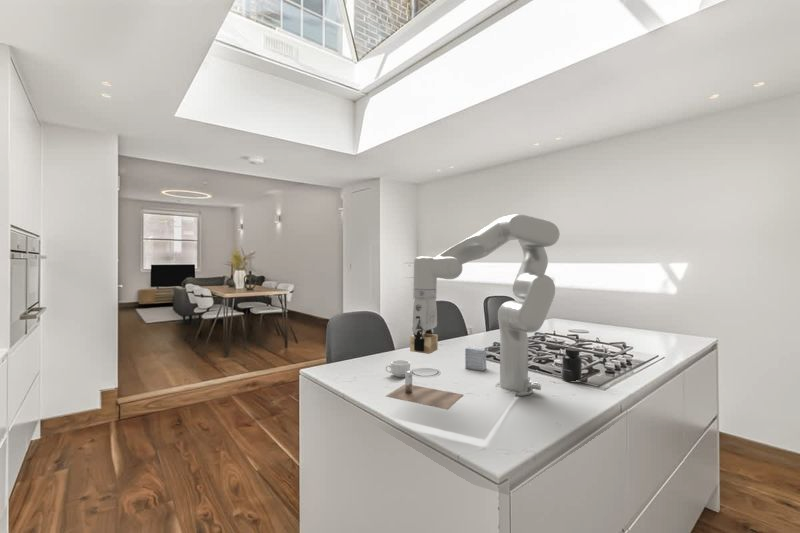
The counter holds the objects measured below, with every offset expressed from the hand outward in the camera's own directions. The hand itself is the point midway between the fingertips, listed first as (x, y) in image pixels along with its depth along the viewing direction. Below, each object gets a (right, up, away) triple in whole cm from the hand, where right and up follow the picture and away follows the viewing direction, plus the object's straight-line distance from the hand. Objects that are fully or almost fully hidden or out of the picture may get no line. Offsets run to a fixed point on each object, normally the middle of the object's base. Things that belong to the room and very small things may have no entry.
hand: (423, 348), depth 123 cm
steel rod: (-5, -16, +3) cm, 17 cm away
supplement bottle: (+58, -17, +21) cm, 64 cm away
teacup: (-9, -17, +26) cm, 32 cm away
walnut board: (0, -17, 0) cm, 17 cm away
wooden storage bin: (0, -1, 0) cm, 1 cm away
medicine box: (+24, -17, +36) cm, 47 cm away
